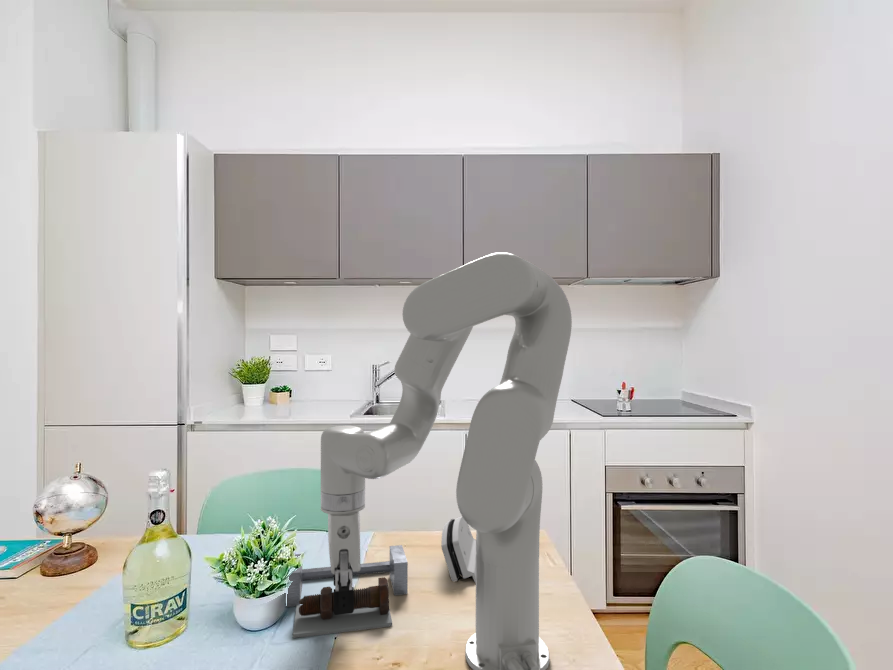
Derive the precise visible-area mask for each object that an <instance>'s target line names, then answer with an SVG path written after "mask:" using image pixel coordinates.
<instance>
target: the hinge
mask: <svg viewBox="0 0 893 670" xmlns="http://www.w3.org/2000/svg"><path fill="white" fill-rule="evenodd" d="M469 526H470V525H469V524H468V523H467V522H466V521H465V520H464V518H463V517H462V516H458V517H456V518H450V519H449V520H448V521H446V522H445V523H444V525H443V527H442V532H441V550H442V553H443V557H444V560H445V563H446V567H447V570H448V574H449V576H450V579H451V582H458V580H459V579H460V577H461V578H463V580H464V579H467V578H469V577H472V579H473V581H474V583H476V538H474V536H473V534H472V531H471V528H470V527H469Z"/></svg>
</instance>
